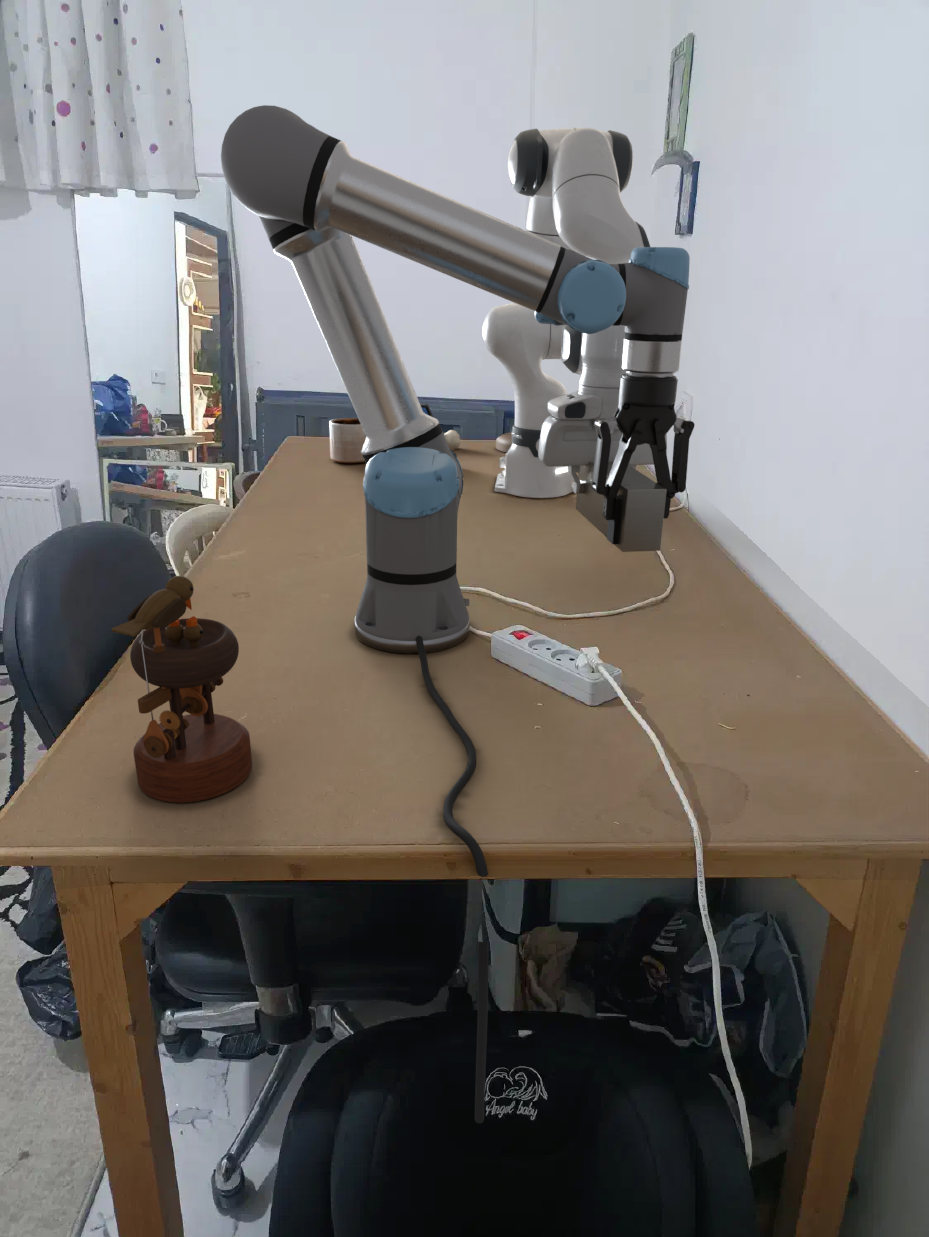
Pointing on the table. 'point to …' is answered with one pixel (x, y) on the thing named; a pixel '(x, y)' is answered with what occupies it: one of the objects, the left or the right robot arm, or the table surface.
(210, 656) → the music box
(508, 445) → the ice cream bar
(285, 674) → the table surface
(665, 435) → the right robot arm
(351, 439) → the planter
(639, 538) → the bar
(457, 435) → the dog toy
